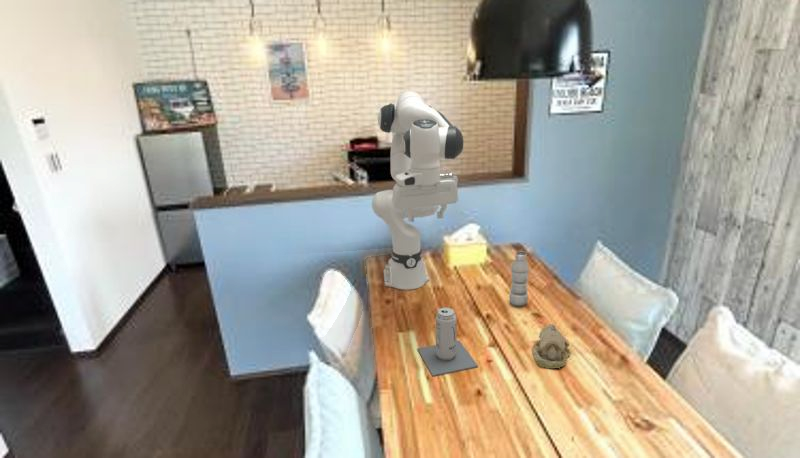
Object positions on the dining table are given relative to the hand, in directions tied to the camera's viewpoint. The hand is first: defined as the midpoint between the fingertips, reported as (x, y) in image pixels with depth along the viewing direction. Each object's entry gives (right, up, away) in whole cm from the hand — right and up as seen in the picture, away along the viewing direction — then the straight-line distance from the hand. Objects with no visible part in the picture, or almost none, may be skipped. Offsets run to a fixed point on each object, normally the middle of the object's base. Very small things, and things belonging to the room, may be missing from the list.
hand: (425, 219), depth 142 cm
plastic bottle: (+35, -31, +27) cm, 54 cm away
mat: (+6, -42, -4) cm, 42 cm away
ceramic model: (+37, -41, -4) cm, 56 cm away
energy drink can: (+6, -41, -3) cm, 42 cm away
